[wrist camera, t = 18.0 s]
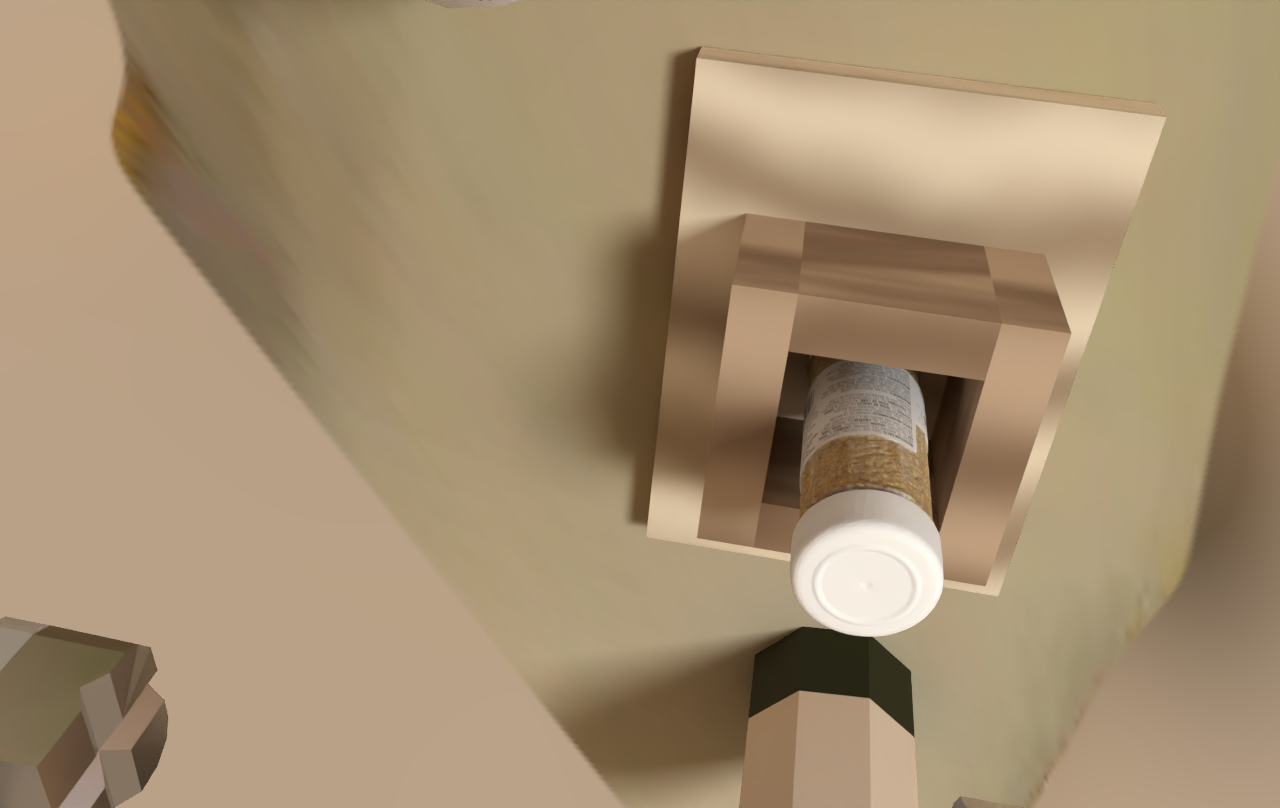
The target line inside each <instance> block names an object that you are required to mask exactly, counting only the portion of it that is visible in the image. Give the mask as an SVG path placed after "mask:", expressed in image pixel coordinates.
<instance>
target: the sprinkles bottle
mask: <svg viewBox="0 0 1280 808" xmlns="http://www.w3.org/2000/svg"><path fill="white" fill-rule="evenodd" d="M807 374H808V377H809V389H808V393H807V396H806V401H805V412H804V426H803V441H802V456H801V468H800V493H801V497H800V510H799V521H798V523H797V525H796V527H795V529H794V532H793V536H792V543H791V559H790V578H791V585H792V589H793V592H794V594H795V597H796V599H797V600H798V602H799V603H800V605H801V606H802V608H803V609H804V610H805V611H806V612H807V613H808V614H809V615H810V616H811V617H812V618H814V619H815V620H816V621H818V622H819V623H821V624H823V625H824V626H826V627H828V628H830V629H833V630H835V631H838V632H841V633H845V634H849V635H855V636H866V637H877V636H885V635H890V634H894V633H897V632H900V631H903V630H905V629H908V628H910V627H912V626H913V625H915V624H917V623H918V622H920V621H921V620H922V619H924V618H925V617H926V616H927V615H928V614H929V613H930V612H931V611H932V609H933V608H934V607H935V605H936V603H937V602H938V600H939V598H940V595H941V593H942V588H943V581H944V573H943V558H942V549H941V540H940V536H939V533H938V531H937V528H936V527H935V524H934V521H933V519H932V507H931V492H930V480H929V467H928V455H927V453H928V438H927V426H926V415H925V405H924V398H923V395H922V392H921V384H920V374H921V371H915V370H909V369H902V368H895V367H889V366H882V365H875V364H869V363H862V362H855V361H849V360H842V359H835V358H829V357H822V356H815V355H809V354H808V361H807Z"/></svg>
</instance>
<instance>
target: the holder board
mask: <svg viewBox="0 0 1280 808" xmlns="http://www.w3.org/2000/svg"><path fill="white" fill-rule="evenodd" d="M1165 120H1166V116H1165V115H1164V113H1163V112H1162V110H1161V109H1160V108H1159V106H1158V105H1157V104H1156V103H1149V102H1141V101H1133V100H1125V99H1117V98H1109V97H1101V96H1093V95H1085V94H1077V93H1069V92H1061V91H1053V90H1045V89H1037V88H1029V87H1021V86H1013V85H1005V84H997V83H989V82H981V81H973V80H965V79H957V78H949V77H941V76H933V75H925V74H917V73H909V72H901V71H893V70H885V69H877V68H869V67H861V66H853V65H845V64H837V63H829V62H821V61H813V60H805V59H797V58H789V57H781V56H773V55H765V54H757V53H749V52H741V51H733V50H724V49H716V48H708V47H701V49H700V52H699V54H698V56H697V60H696V69H695V79H694V88H693V98H692V107H691V117H690V126H689V136H688V145H687V155H686V164H685V174H684V183H683V193H682V202H681V212H680V221H679V231H678V240H677V250H676V259H675V269H674V278H673V288H672V297H671V307H670V316H669V326H668V335H667V345H666V354H665V364H664V373H663V383H662V392H661V402H660V411H659V421H658V430H657V440H656V449H655V458H654V468H653V477H652V487H651V496H650V506H649V515H648V525H647V534H646V537H649V538H655V539H661V540H667V541H673V542H679V543H685V544H691V545H696V546H702V547H708V548H714V549H720V550H726V551H732V552H738V553H744V554H750V555H756V556H762V557H768V558H774V559H780V560H786V561H790V559H791V543H792V536H793V532H794V529H795V527H796V525H797V523H798V521H799V510H800V497H801V493H800V468H801V456H802V441H803V426H804V412H805V401H806V396H807V393H808V389H809V377H808V374H807V361H808V354H809V355H815V356H822V357H829V358H835V359H842V360H849V361H855V362H862V363H869V364H875V365H882V366H889V367H895V368H902V369H909V370H915V371H921V374H920V384H921V392H922V395H923V398H924V405H925V415H926V426H927V438H928V453H927V455H928V467H929V480H930V492H931V507H932V519H933V521H934V524H935V527H936V528H937V531H938V533H939V536H940V540H941V549H942V558H943V573H944V581H943V587H946V588H952V589H958V590H964V591H970V592H976V593H982V594H988V595H994V596H998V595H999V592H1000V589H1001V587H1002V584H1003V581H1004V578H1005V575H1006V572H1007V569H1008V567H1009V564H1010V561H1011V558H1012V555H1013V552H1014V550H1015V547H1016V544H1017V541H1018V538H1019V535H1020V532H1021V530H1022V527H1023V524H1024V521H1025V518H1026V515H1027V513H1028V510H1029V507H1030V504H1031V501H1032V498H1033V495H1034V493H1035V490H1036V487H1037V484H1038V481H1039V478H1040V476H1041V473H1042V470H1043V467H1044V464H1045V461H1046V459H1047V456H1048V453H1049V450H1050V447H1051V444H1052V441H1053V439H1054V436H1055V433H1056V430H1057V427H1058V424H1059V422H1060V419H1061V416H1062V413H1063V410H1064V407H1065V404H1066V402H1067V399H1068V396H1069V393H1070V390H1071V387H1072V385H1073V382H1074V379H1075V376H1076V373H1077V370H1078V367H1079V365H1080V362H1081V359H1082V356H1083V353H1084V350H1085V348H1086V345H1087V342H1088V339H1089V336H1090V333H1091V330H1092V328H1093V325H1094V322H1095V319H1096V316H1097V313H1098V311H1099V308H1100V305H1101V302H1102V299H1103V296H1104V294H1105V291H1106V288H1107V285H1108V282H1109V279H1110V276H1111V274H1112V271H1113V268H1114V265H1115V262H1116V259H1117V257H1118V254H1119V251H1120V248H1121V245H1122V242H1123V239H1124V237H1125V234H1126V231H1127V228H1128V225H1129V222H1130V220H1131V217H1132V214H1133V211H1134V208H1135V205H1136V202H1137V200H1138V197H1139V194H1140V191H1141V188H1142V185H1143V183H1144V180H1145V177H1146V174H1147V171H1148V168H1149V165H1150V163H1151V160H1152V157H1153V154H1154V151H1155V148H1156V146H1157V143H1158V140H1159V137H1160V134H1161V131H1162V129H1163V126H1164V123H1165Z"/></svg>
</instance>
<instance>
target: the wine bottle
mask: <svg viewBox="0 0 1280 808" xmlns="http://www.w3.org/2000/svg"><path fill="white" fill-rule="evenodd" d="M739 808H918V795H917V776H916V758H915V740H914V722H913V703H912V685H911V671H910V670H909V669H908V668H907V667H905V666H904V665H903V664H902V663H901V662H900V661H899V660H898V659H897V658H895V657H894V656H893V655H892V654H891V653H890V652H889V651H888V650H886V649H885V648H884V647H883V646H882V645H881V644H880V643H879V642H878V641H876V640H875V639H874V638H873V637H866V636H855V635H849V634H845V633H841V632H838V631H835V630H828V629H818V628H809V627H802V628H800V629H798V630H797V631H795V632H793V633H792V634H790V635H788V636H787V637H785V638H783V639H781V640H780V641H778V642H776V643H775V644H773V645H771V646H770V647H768V648H766V649H765V650H763V651H761V652H759V653H758V654H756V655H755V663H754V672H753V682H752V691H751V701H750V710H749V719H748V729H747V738H746V748H745V757H744V767H743V776H742V786H741V795H740V804H739Z"/></svg>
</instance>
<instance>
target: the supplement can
mask: <svg viewBox="0 0 1280 808" xmlns="http://www.w3.org/2000/svg"><path fill="white" fill-rule="evenodd" d="M426 1H429V2H432V3H435V4H438V5H441V6H443V7H446V8H465V7H498V6H506V5H508V4H510V3H513V2H515V1H517V0H426Z"/></svg>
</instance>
